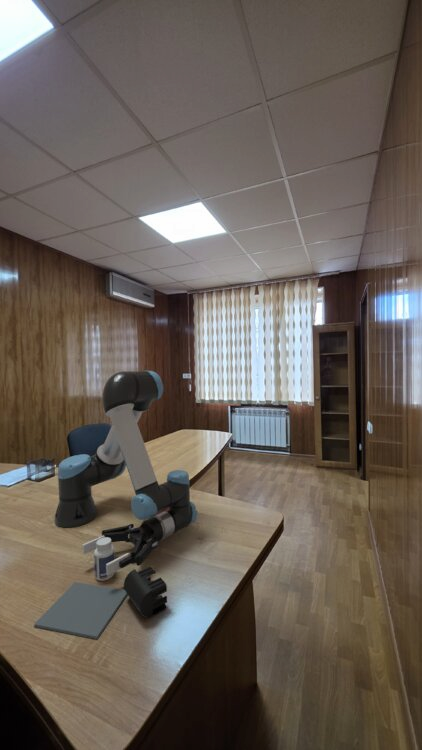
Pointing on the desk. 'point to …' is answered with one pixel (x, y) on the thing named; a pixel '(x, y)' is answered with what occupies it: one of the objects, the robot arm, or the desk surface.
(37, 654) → the desk surface
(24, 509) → the desk surface
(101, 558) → the pill bottle
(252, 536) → the desk surface
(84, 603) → the mat
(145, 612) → the end cap
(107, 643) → the desk surface
